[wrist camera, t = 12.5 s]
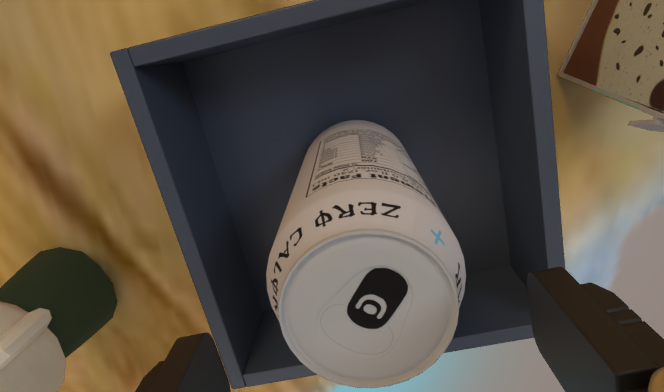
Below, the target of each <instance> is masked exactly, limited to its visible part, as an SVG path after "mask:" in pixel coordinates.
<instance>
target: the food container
mask: <svg viewBox="0 0 664 392" xmlns="http://www.w3.org/2000/svg"><path fill="white" fill-rule="evenodd" d="M557 76H559V77H562V78H564V79H567V80H569V81H571V82H574V83H576V84H578V85H581V86H583V87H586V88H588V89H590V90H593V91H595V92H598V93H600V94H602V95H605V96H607V97H610V98H612V99H614V100H617V101H619V102H622V103H624V104H626V105H629V106H631V107H634V108H636V109H638V110H641V111H643V112H645V113H648V114H650V115H653V116H655V117H654V119H653V120H638V121H629V124H628V125H630V126H634V127H638V128H642V129H646V130H650V131H660V132H664V0H593V2H592V4H591V6H590V9H589V11H588V13H587V15H586V17H585V19H584V21H583V23H582V25H581V27H580V29H579V31H578V33H577V35H576V37H575V39H574V41H573V44H572V46H571V48H570V50H569V52H568V54H567V56H566V58H565V60H564V62H563V64H562V66H561V68H560V70H559V72H558V74H557Z"/></svg>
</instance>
